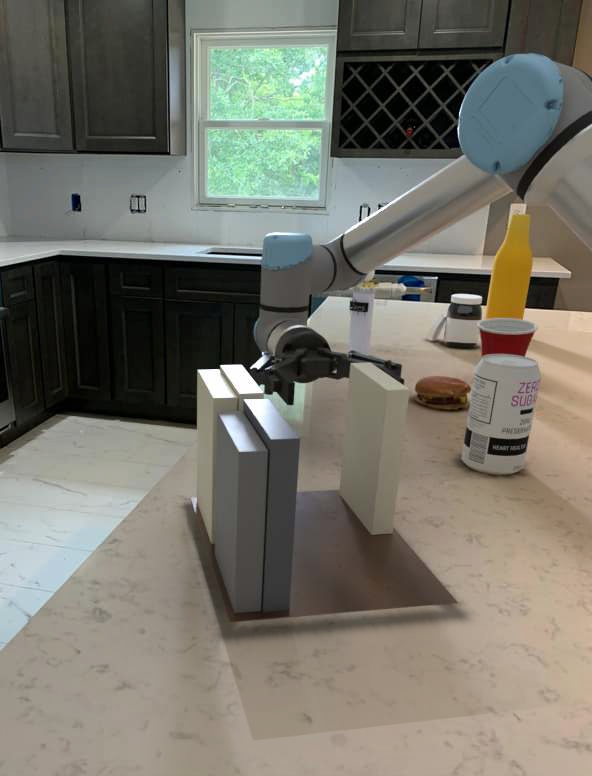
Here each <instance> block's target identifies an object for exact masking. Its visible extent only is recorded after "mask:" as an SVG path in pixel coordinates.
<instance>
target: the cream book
mask: <svg viewBox="0 0 592 776" xmlns="http://www.w3.org/2000/svg"><path fill="white" fill-rule="evenodd" d="M410 392H411V391H410V388H409V387H407V386H406V385H405V384H404V385H403V384H401V383H400V382H398V381H397V380H395V379H394V378H392V377H391V376H389V375H388V374H386V373H385V372H384V371H382V370H381V369H379V368H378V367H376V366H375V365H373V364H372V363H351V364H350V375H349V378H348V389H347V398H346V400H347V401H346V412H345V421H344V423H345V424H344V435H343V444H342V454H341V455H342V457H341V459H342V460H341V466H340V467H341V469H340V477H339V478H340V479H339V489H338V490H339V494H340V495H341V497H342V498H343V499H344V500H345V502H346V503H347V504H348V506H349V507H350V508H351V509H352V511H353V512H354V513H355V515H356V516H357V517H358V518H359V520H360V521H361V522H362V524H363V525H364V526H365V527H366V529H367V530H368V531H369V533H370V534H371V535H379V534H392V532H393V527H394V522H395V515H396V506H397V497H398V488H399V482H400V472H401V464H402V458H403V457H402V456H403V447H404V439H405V433H406V422H407V416H408V407H409V399H410Z"/></svg>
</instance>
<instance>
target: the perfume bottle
mask: <svg viewBox="0 0 592 776" xmlns="http://www.w3.org/2000/svg"><path fill="white" fill-rule="evenodd" d="M375 273H376V269H375V270H374V271H372V272H370V273H369V274H368V275H367V277H366V279H365V280H364V281H363V282H362V283H361V284H359V285H358V286H355V288H367V289H369V288H370V289H371V288H378V287H379V286H380V283H379V282H377V281H374V280H373V279H374V277H375ZM375 296H376V292H374V291H371V290H370V291H369V290H354V291H353V292H352V296H350V298H349V313H350V323H349V335H348V344H347V345H348V347H347V353H348V352H349V351H351V350H354V351H357V352H359V353H361V354H364V355H367V356H370V349H371V338H372V327H373V318H374V308H375Z"/></svg>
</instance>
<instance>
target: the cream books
mask: <svg viewBox="0 0 592 776" xmlns="http://www.w3.org/2000/svg"><path fill="white" fill-rule="evenodd" d="M196 371H197V372H196V373H197V374H196V376H197V377H196V379H197V380H196V411H197V412H196V497H197V503H198V506H199V509H200V512H201V515H202V518H203V521H204V524H205V527H206V530H207V533H208V536H209V539H210V542H211V544H215V511H216V446H217V412H222V411H243V402H244V400H249V399H265V394H264V390H263V389H261V386H258V385H257V384H256V382H255V381H254V380H253V379H252V377H251V376H250V373H249V372H248V371H247V370H246V368H245V367H244V366H243V365H242V364H220V365H219V368H218V369H217V368H215V369H196Z"/></svg>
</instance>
